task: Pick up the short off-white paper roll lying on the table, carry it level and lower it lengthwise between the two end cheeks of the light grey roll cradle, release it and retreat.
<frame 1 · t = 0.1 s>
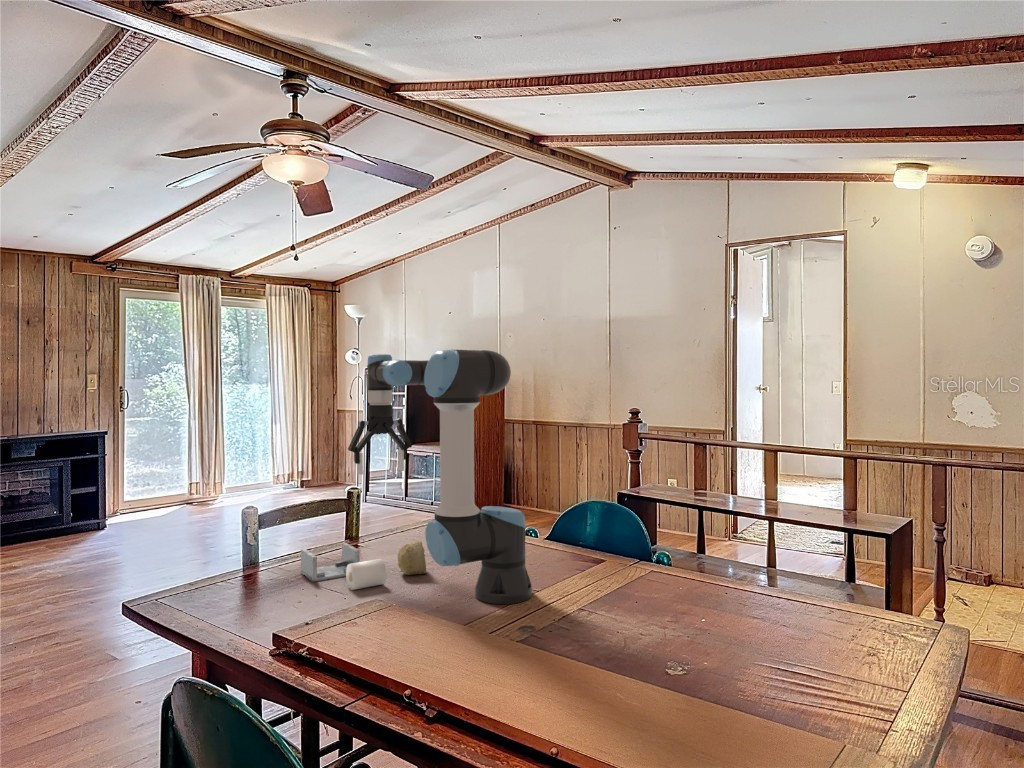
hand: (380, 472, 220), 28 cm above the table, fingers open, 13 cm apart
cradle: (330, 573, 208), on the table
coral: (412, 574, 208), on the table
roll: (366, 574, 195), point 3 cm above the table
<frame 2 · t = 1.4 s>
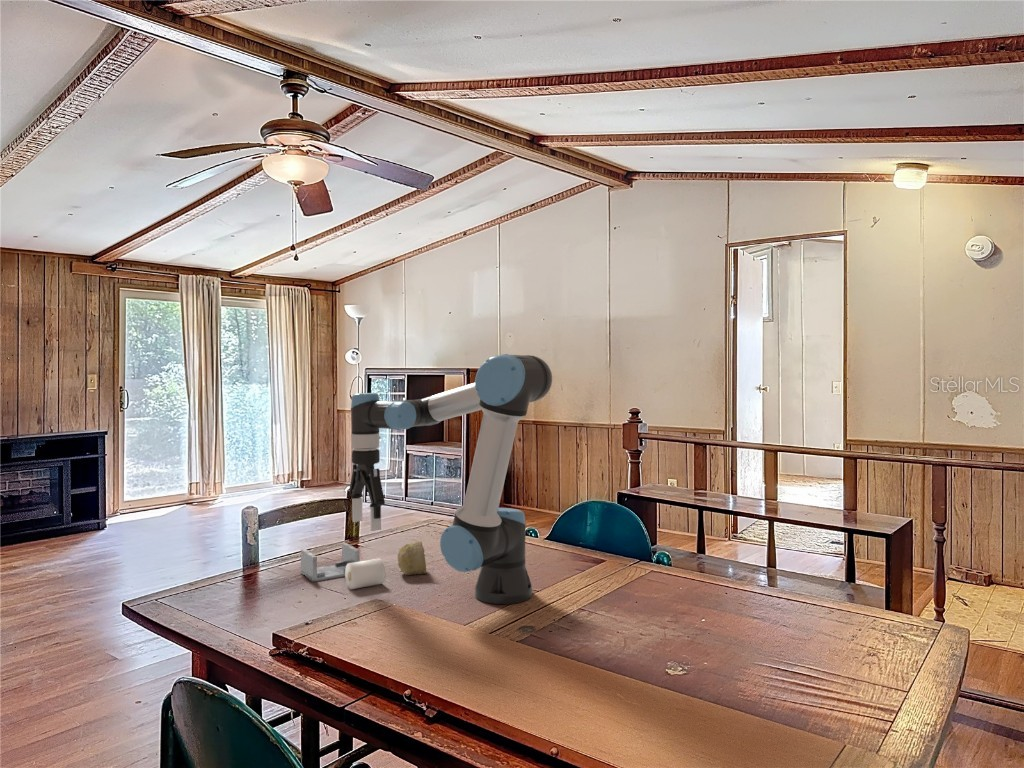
hand: (366, 525, 196), 17 cm above the table, fingers open, 13 cm apart
roll: (365, 573, 196), point 3 cm above the table, tilted 12°
everything else where it was.
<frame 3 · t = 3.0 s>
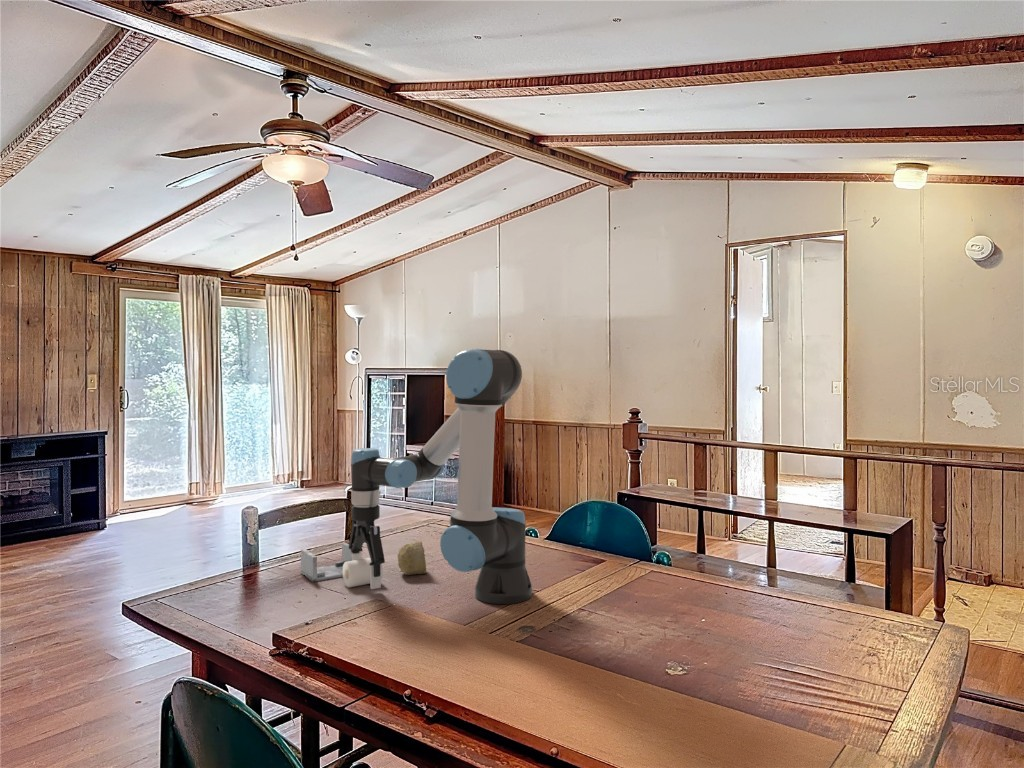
hand: (366, 581, 195), 1 cm above the table, fingers open, 12 cm apart
roll: (362, 571, 198), point 3 cm above the table, tilted 45°
everything else where it was.
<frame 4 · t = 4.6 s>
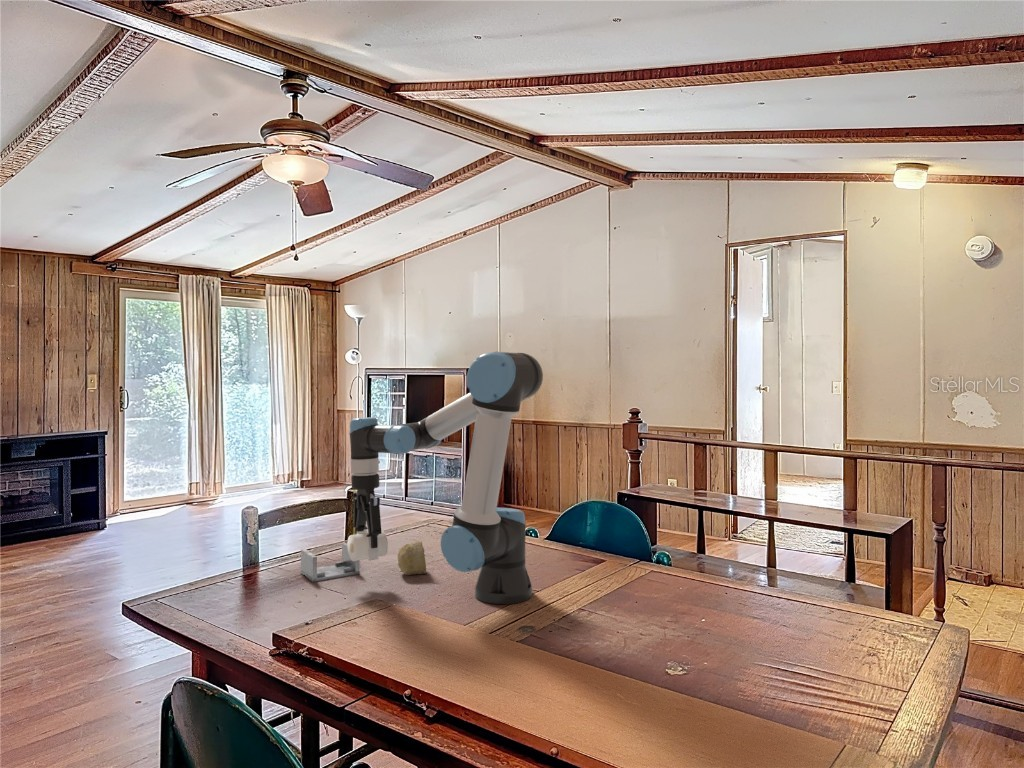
hand: (367, 556, 195), 8 cm above the table, fingers closed on roll, 7 cm apart
roll: (367, 545, 195), point 11 cm above the table, tilted 10°, touching gripper
everything else where it was.
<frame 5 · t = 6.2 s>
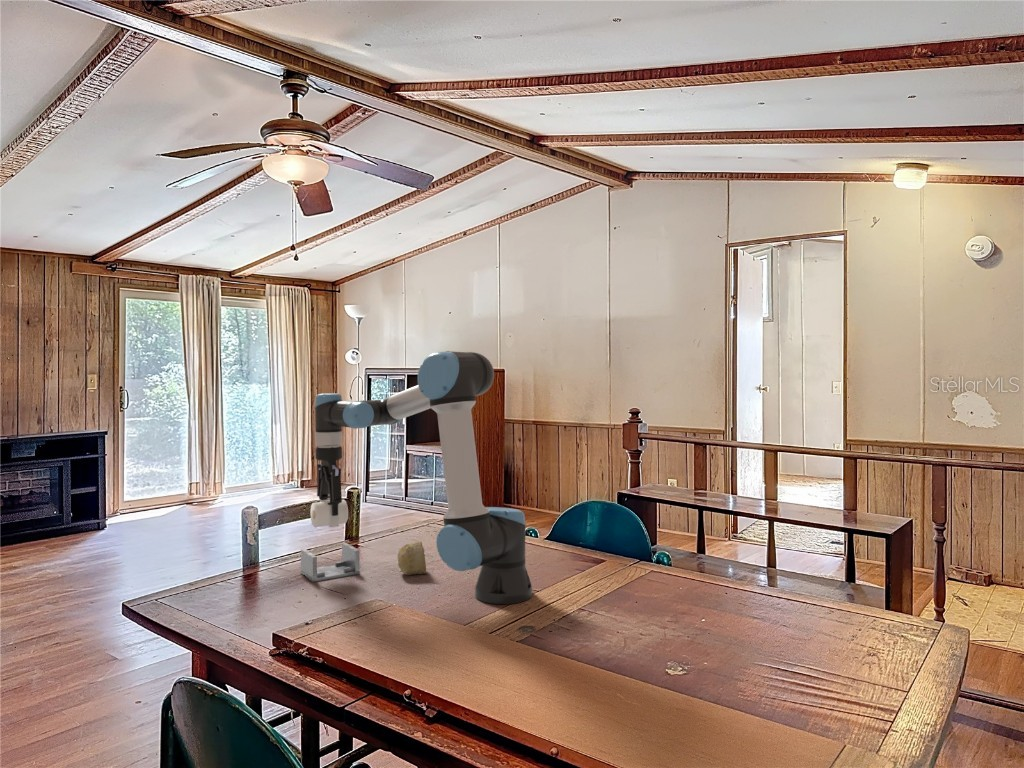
hand: (329, 523, 208), 15 cm above the table, fingers closed on roll, 7 cm apart
roll: (329, 513, 208), point 18 cm above the table, tilted 8°, touching gripper
everything else where it was.
when the fingers open (2 cm above the table, at t = 8.3 s): roll stays where it is, resting on cradle.
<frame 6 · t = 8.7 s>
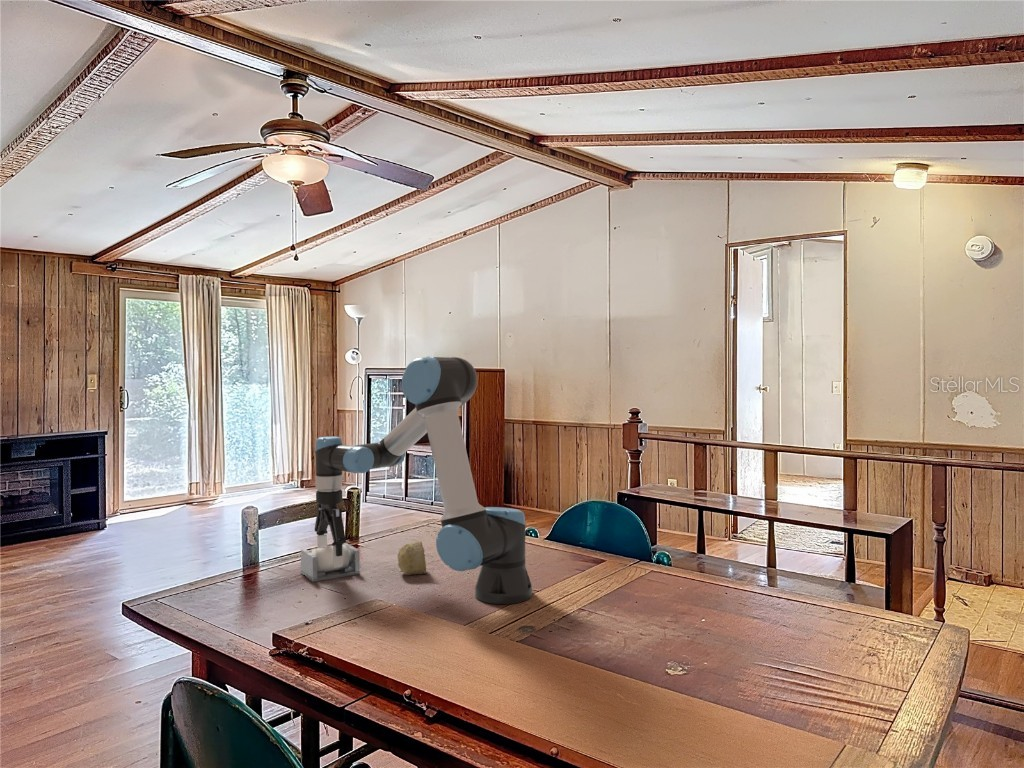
hand: (329, 561, 208), 3 cm above the table, fingers open, 13 cm apart
roll: (330, 558, 208), point 4 cm above the table, tilted 8°, touching cradle
everything else where it was.
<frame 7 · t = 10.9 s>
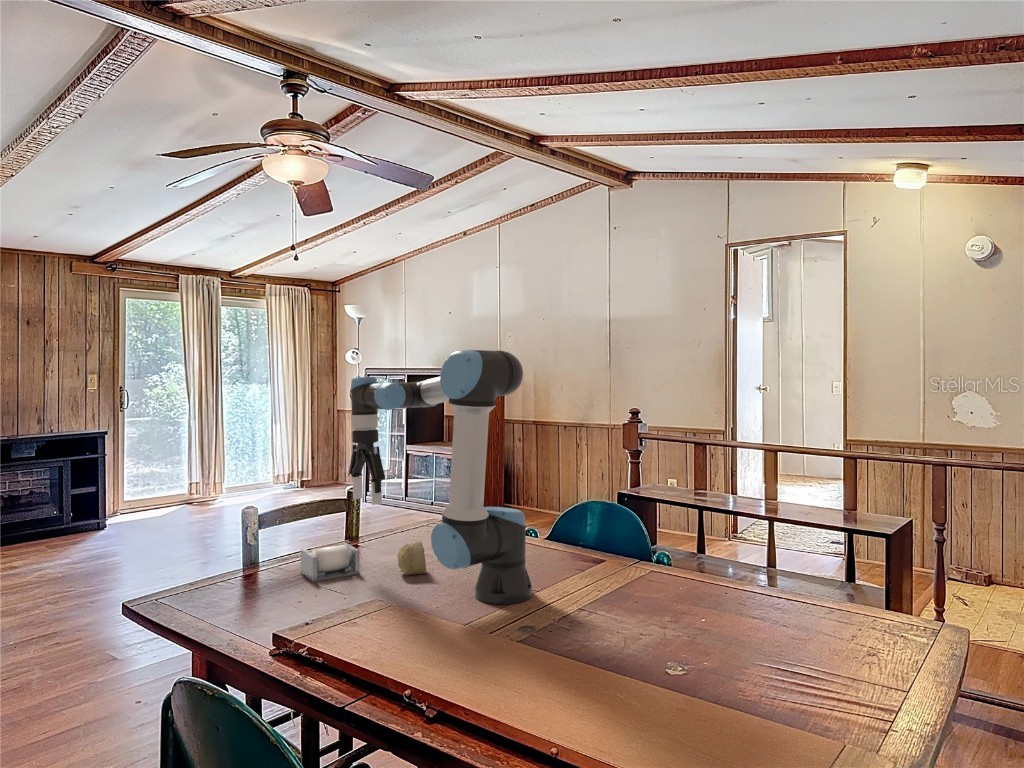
hand: (367, 501, 208), 21 cm above the table, fingers open, 13 cm apart
nothing on the table moved.
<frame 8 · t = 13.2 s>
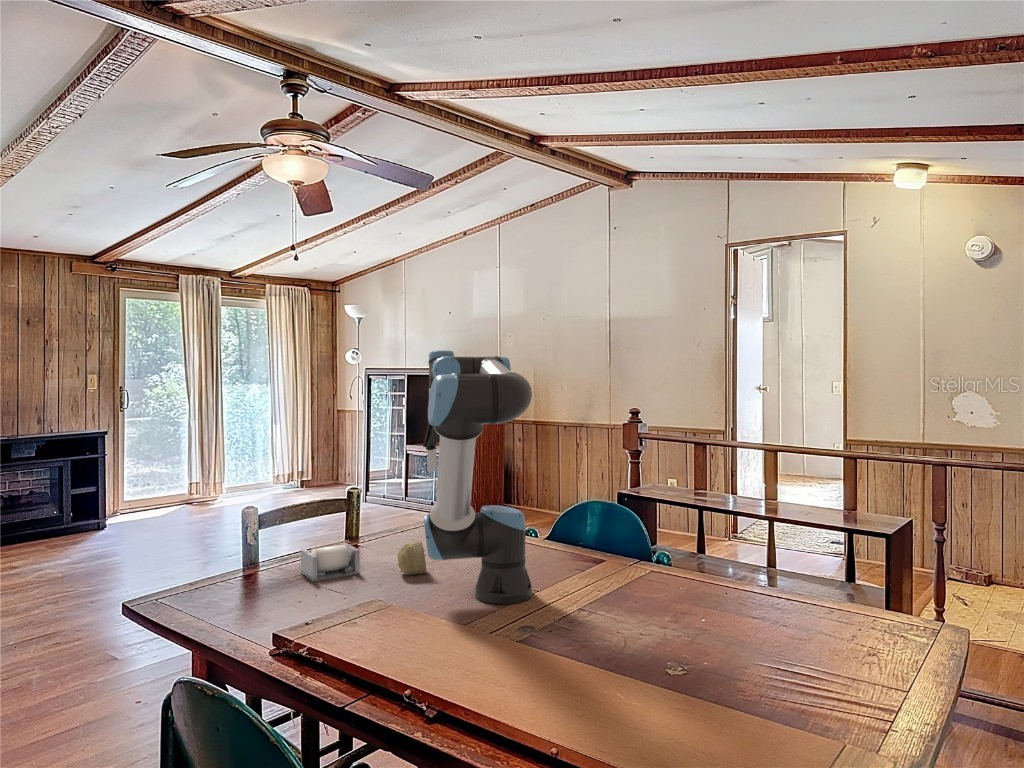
hand: (442, 474, 210), 29 cm above the table, fingers open, 13 cm apart
nothing on the table moved.
at the end: roll 0.0 cm off-centre on the cradle, point 4.3 cm above the cradle's base; the gripper is holding nothing; roll touching cradle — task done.
